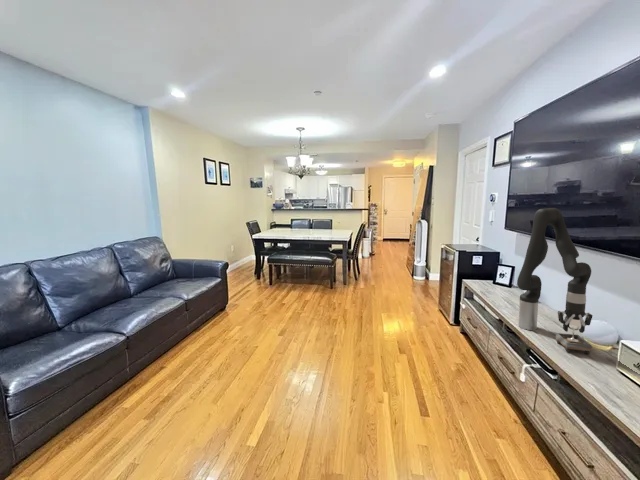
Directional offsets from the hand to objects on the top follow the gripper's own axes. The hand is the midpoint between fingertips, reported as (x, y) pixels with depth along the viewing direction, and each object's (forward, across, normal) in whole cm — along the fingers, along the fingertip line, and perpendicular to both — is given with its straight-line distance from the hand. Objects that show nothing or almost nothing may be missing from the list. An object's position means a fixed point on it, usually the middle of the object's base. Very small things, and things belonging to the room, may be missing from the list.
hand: (573, 331), depth 146 cm
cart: (+9, 0, 0) cm, 9 cm away
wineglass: (+5, 0, 0) cm, 5 cm away
